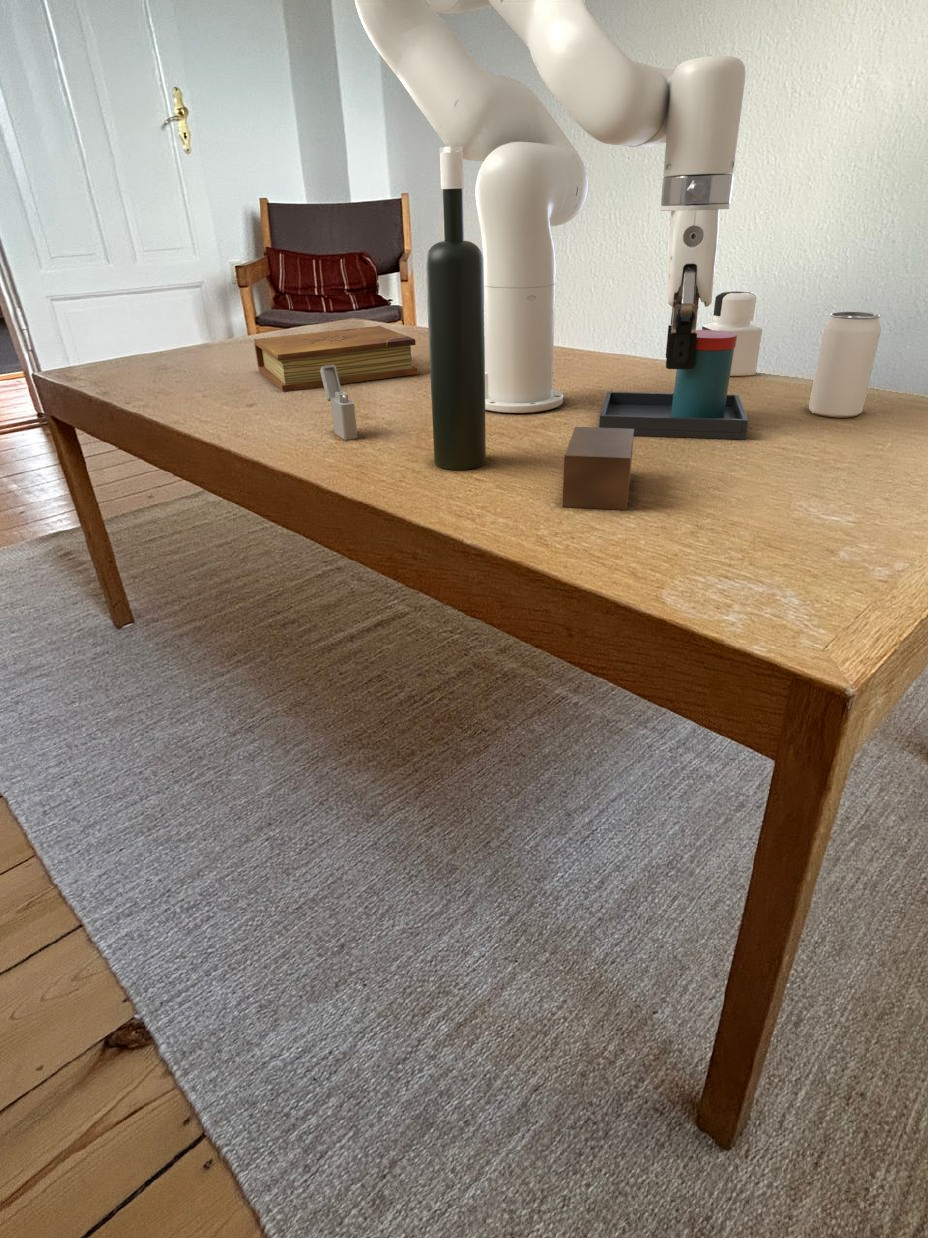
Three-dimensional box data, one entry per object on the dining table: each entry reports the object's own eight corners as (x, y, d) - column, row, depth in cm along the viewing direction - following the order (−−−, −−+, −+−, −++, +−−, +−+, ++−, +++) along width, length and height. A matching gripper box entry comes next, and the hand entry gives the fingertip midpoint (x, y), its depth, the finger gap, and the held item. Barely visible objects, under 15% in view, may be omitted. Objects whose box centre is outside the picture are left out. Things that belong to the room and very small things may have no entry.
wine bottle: (436, 454, 87) (422, 149, 72) (486, 454, 86) (482, 147, 72) (432, 470, 82) (417, 145, 67) (485, 470, 81) (481, 143, 67)
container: (633, 379, 91) (714, 308, 86) (635, 368, 97) (710, 301, 91) (694, 449, 94) (776, 384, 88) (692, 435, 99) (769, 373, 94)
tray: (598, 434, 92) (599, 415, 91) (605, 408, 104) (606, 391, 102) (745, 439, 89) (748, 420, 88) (736, 412, 100) (738, 394, 99)
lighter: (358, 437, 94) (351, 371, 90) (344, 439, 93) (337, 373, 89) (338, 425, 99) (332, 362, 96) (326, 427, 99) (319, 364, 95)
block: (562, 506, 71) (564, 455, 69) (572, 473, 80) (575, 426, 77) (626, 510, 70) (630, 458, 68) (630, 476, 78) (634, 428, 76)
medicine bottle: (696, 368, 125) (705, 290, 119) (737, 366, 126) (749, 288, 120) (712, 377, 119) (723, 295, 113) (755, 375, 119) (768, 293, 114)
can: (867, 419, 95) (891, 318, 89) (812, 417, 96) (832, 318, 91) (854, 406, 101) (876, 311, 95) (803, 405, 102) (821, 311, 96)
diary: (380, 357, 141) (378, 325, 139) (417, 375, 127) (415, 338, 124) (258, 371, 133) (253, 337, 130) (282, 391, 118) (277, 353, 116)
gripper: (737, 193, 76) (714, 378, 84) (725, 194, 90) (707, 351, 99) (661, 196, 77) (646, 377, 86) (661, 196, 92) (648, 351, 101)
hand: (679, 361), depth 92 cm, fingers closed on container, 5 cm apart
